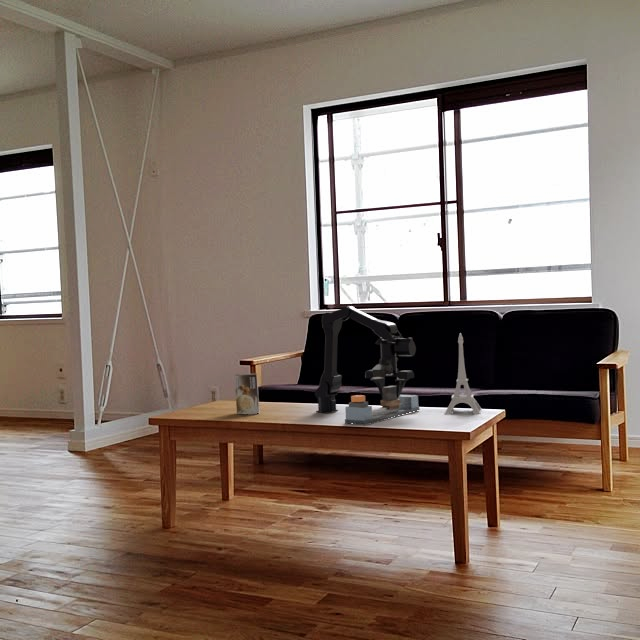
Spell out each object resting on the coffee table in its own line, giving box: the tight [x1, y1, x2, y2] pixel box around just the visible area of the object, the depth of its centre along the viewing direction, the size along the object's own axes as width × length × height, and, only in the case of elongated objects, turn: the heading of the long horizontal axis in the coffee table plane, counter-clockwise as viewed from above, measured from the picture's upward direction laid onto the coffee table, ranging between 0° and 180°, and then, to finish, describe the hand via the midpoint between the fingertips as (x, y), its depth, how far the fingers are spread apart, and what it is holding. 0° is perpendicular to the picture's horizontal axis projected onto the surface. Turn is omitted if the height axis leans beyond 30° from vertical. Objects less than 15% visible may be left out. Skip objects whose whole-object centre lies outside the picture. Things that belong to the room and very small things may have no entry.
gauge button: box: [350, 394, 366, 402], centre depth 281 cm, size 4×4×2 cm
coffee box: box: [234, 373, 260, 415], centre depth 319 cm, size 9×6×16 cm
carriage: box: [380, 385, 400, 410], centre depth 298 cm, size 5×6×8 cm
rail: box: [344, 394, 421, 426], centre depth 294 cm, size 9×37×8 cm, turn 142°
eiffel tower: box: [443, 332, 483, 415], centre depth 299 cm, size 13×13×30 cm
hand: (390, 397), depth 298 cm, fingers open, 7 cm apart
